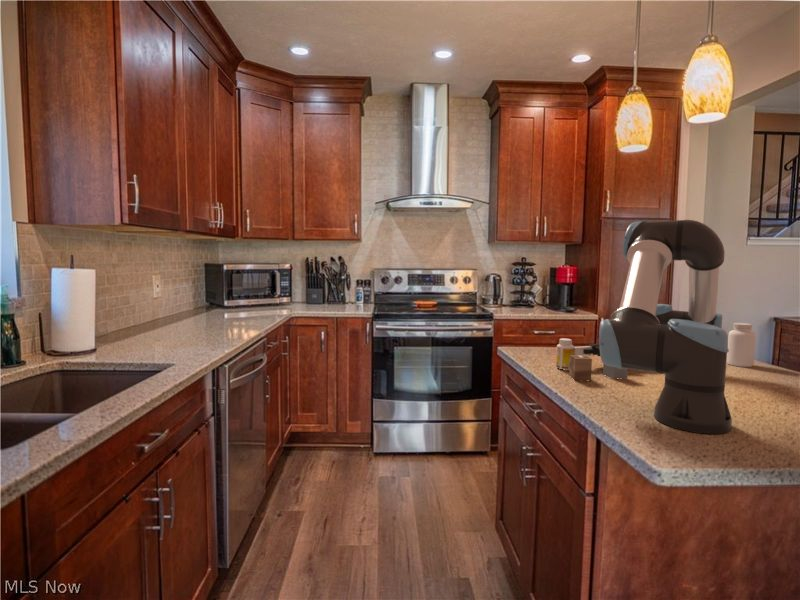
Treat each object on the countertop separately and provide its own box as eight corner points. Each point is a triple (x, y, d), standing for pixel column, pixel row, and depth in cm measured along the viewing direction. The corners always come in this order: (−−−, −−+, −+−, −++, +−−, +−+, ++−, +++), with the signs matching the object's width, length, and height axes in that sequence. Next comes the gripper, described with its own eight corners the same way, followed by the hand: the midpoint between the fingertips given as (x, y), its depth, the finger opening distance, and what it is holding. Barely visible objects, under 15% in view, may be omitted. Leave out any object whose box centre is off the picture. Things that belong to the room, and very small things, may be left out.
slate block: (627, 379, 144) (628, 356, 144) (613, 379, 143) (614, 357, 143) (616, 375, 149) (617, 353, 148) (602, 375, 148) (604, 353, 147)
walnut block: (590, 381, 141) (591, 358, 140) (574, 380, 141) (575, 358, 141) (585, 377, 146) (586, 354, 145) (569, 376, 146) (570, 354, 146)
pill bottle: (731, 366, 163) (734, 324, 161) (722, 361, 170) (725, 321, 169) (757, 368, 160) (761, 325, 159) (747, 363, 168) (750, 322, 167)
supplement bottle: (576, 369, 156) (577, 339, 155) (567, 371, 153) (568, 341, 152) (561, 366, 160) (563, 337, 159) (552, 368, 157) (553, 338, 156)
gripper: (646, 363, 156) (584, 366, 151) (620, 355, 168) (562, 357, 163) (647, 341, 155) (585, 343, 150) (621, 335, 168) (563, 336, 163)
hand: (573, 351), depth 157 cm, fingers closed
